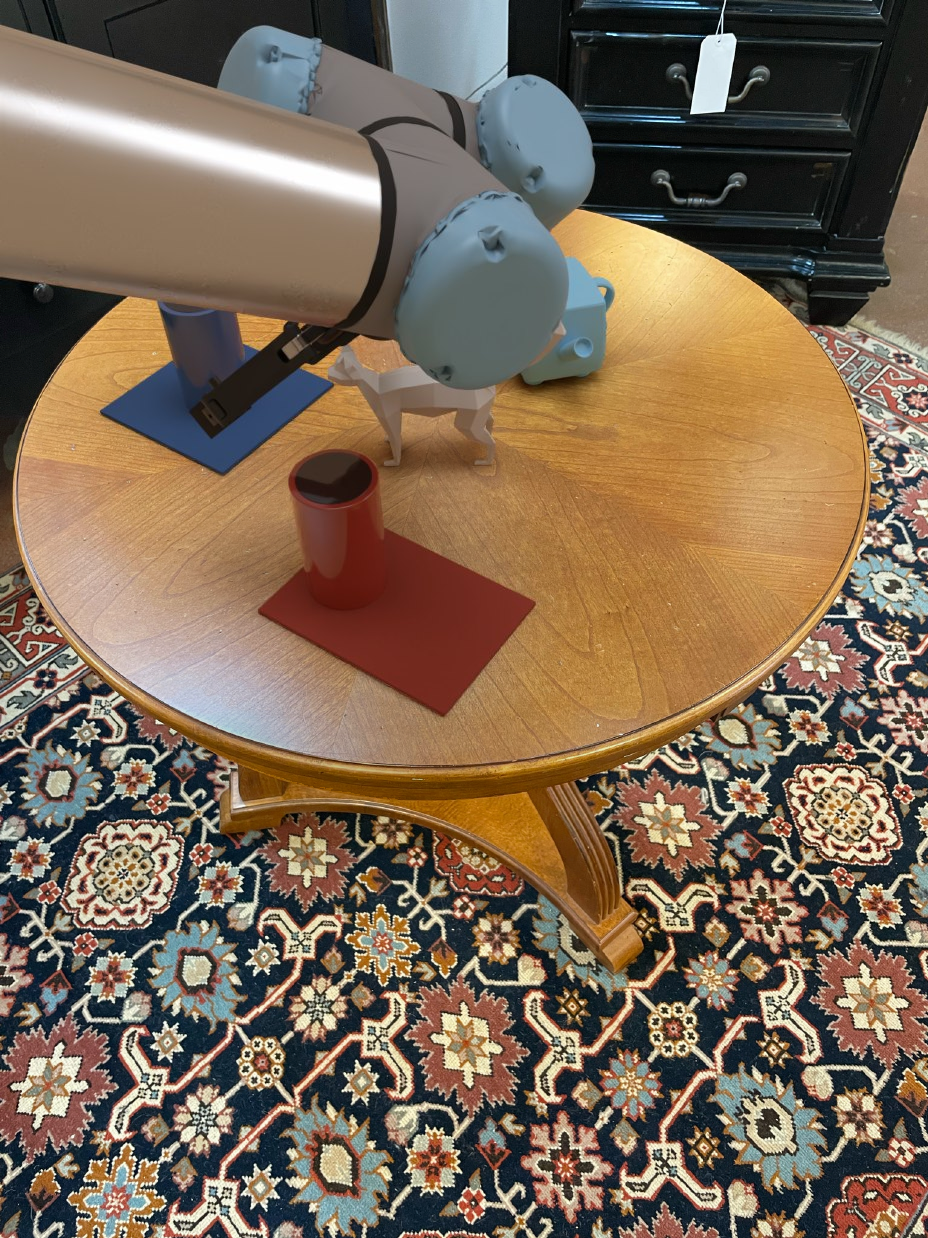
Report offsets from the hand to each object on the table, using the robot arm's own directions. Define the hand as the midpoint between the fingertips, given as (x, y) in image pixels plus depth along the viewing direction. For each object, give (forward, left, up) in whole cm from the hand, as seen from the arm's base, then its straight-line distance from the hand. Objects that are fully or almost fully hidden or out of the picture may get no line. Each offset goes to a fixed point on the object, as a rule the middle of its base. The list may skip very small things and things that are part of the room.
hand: (260, 379), depth 79 cm
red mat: (+19, -7, -10) cm, 22 cm away
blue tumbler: (-12, +5, -10) cm, 16 cm away
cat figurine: (+11, +11, -10) cm, 19 cm away
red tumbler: (+14, -7, -10) cm, 18 cm away
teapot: (+11, +28, -10) cm, 32 cm away
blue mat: (-12, +5, -10) cm, 16 cm away
